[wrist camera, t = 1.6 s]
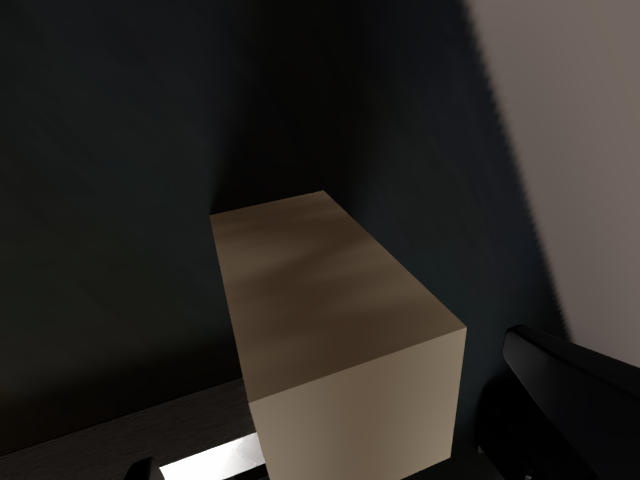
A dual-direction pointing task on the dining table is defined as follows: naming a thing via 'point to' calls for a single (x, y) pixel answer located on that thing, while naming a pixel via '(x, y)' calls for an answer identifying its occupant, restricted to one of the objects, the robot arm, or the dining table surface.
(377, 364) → the maple peg
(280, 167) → the dining table surface
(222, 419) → the double square frame
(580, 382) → the robot arm
